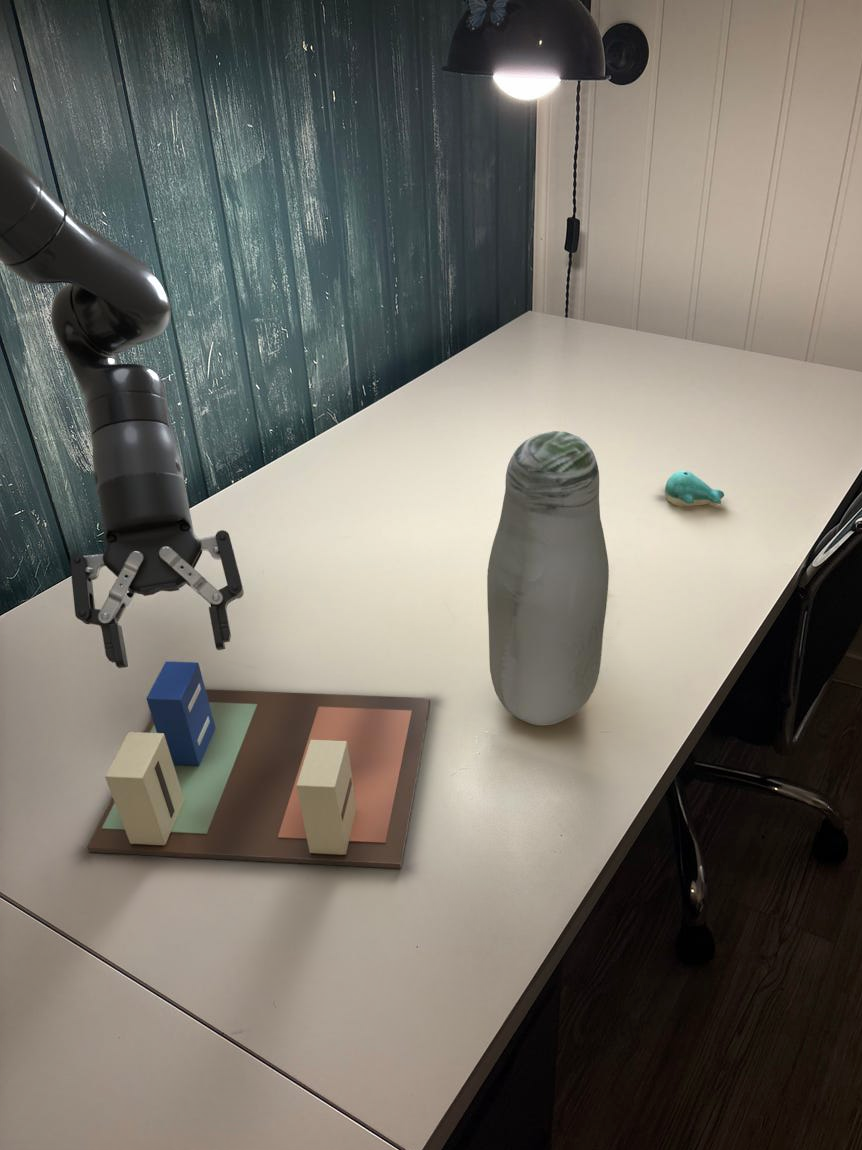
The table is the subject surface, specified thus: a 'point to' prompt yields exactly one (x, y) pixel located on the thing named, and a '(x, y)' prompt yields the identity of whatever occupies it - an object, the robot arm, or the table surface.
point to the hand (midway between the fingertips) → (171, 657)
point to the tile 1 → (145, 788)
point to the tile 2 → (327, 796)
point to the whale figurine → (690, 490)
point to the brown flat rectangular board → (289, 779)
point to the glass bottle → (548, 581)
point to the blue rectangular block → (182, 711)
